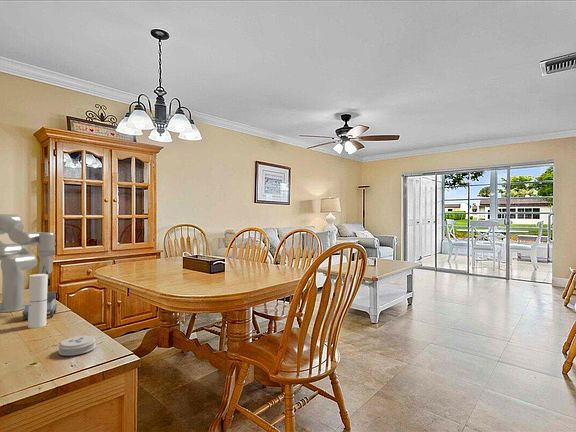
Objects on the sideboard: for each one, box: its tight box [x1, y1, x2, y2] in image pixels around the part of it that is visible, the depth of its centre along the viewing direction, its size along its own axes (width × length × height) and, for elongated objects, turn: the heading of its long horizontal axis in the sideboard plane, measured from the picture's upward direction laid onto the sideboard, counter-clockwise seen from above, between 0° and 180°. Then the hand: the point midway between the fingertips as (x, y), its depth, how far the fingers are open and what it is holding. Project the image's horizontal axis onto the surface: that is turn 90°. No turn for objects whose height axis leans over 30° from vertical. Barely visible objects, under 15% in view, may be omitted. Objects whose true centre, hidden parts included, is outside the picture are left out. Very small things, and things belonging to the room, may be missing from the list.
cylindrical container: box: [27, 273, 49, 329], centre depth 156 cm, size 7×7×25 cm
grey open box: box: [21, 291, 58, 321], centre depth 171 cm, size 12×13×12 cm
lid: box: [57, 335, 97, 356], centre depth 127 cm, size 13×13×5 cm
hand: (46, 285), depth 180 cm, fingers closed
